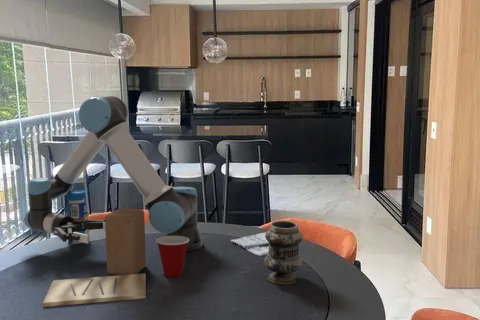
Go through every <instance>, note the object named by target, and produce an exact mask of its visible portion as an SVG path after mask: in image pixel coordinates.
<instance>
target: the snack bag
mask: <svg viewBox="0 0 480 320" xmlns="http://www.w3.org/2000/svg"><path fill="white" fill-rule="evenodd" d="M266 232H267V231H265V232H261V233H256V234H253V235H248V236H243V237H239V238H235V239H230V242H231V243H232V242H233V244H234V243H236V244H235V245H237V244H238V245H237V246H238V247H240V246H241V247H240V248H242V247H243V249H244V248H245V249H246V250H245V249H244V250H245V251H248V252H250V253H252V254H254V255H256V256H258V257H263V256H266V255H267V254H268V252H269V246H268V245H269V242H268V241H267V240H266V238H265V234H266ZM267 244H268V245H267ZM260 246H261V247H260ZM266 246H267V247H266Z"/></svg>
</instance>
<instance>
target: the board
mask: <svg viewBox="0 0 480 320" xmlns="http://www.w3.org/2000/svg"><path fill="white" fill-rule="evenodd" d="M146 275H147V274H146V272H145V273H137V274H131V275H107V276H96V277H95V276H94V277H82V278H80V277H79V278H69V279H68V278H66V279H54V280H53V281H52V283H51V285H50V287H49V289H48V291H47V294H46V295H45V297H44V300H43V302H42V307H43V308H46V307H57V306H58V307H60V306H71V305H80V304H82V305H83V304H92V303H104V302H105V303H106V302H116V301H119V302H120V301H128V300H129V301H130V300H139V299H140V300H141V299H146V297H147V296H146V295H147V293H146V291H147V290H146V286H147V285H146V284H147V282H146V279H147V278H146Z"/></svg>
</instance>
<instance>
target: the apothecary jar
mask: <svg viewBox="0 0 480 320" xmlns="http://www.w3.org/2000/svg"><path fill="white" fill-rule="evenodd" d="M265 232H266V234H265V238H266V240H267V241H268V242H269V244H268V245H269V252H268V254H267V255H265V257H264V260H263V261H264V265H265V267H266V268H267V269H268V270H270V271H272V272H270V273H269V274H268V275H267V280H268V281H269V282H271V283H274V284H276V285H292V284H295V283H297V281H299V278H300V277H299V276H298V275H297V274H296V273H294V272H296V271H299V269H301V268H302V266H303V258H301V256H300V255H299V253H300V252H299V251H300V250H299V249H300V246H299V245H300V243H302V241H303V239H304V235H303V233H302V232H301V230H300V229H299V226H298V223H296V222H295V221H292V220H274V221H273V222H271V223H270V227H269V229H268V230H266V231H265Z"/></svg>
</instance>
